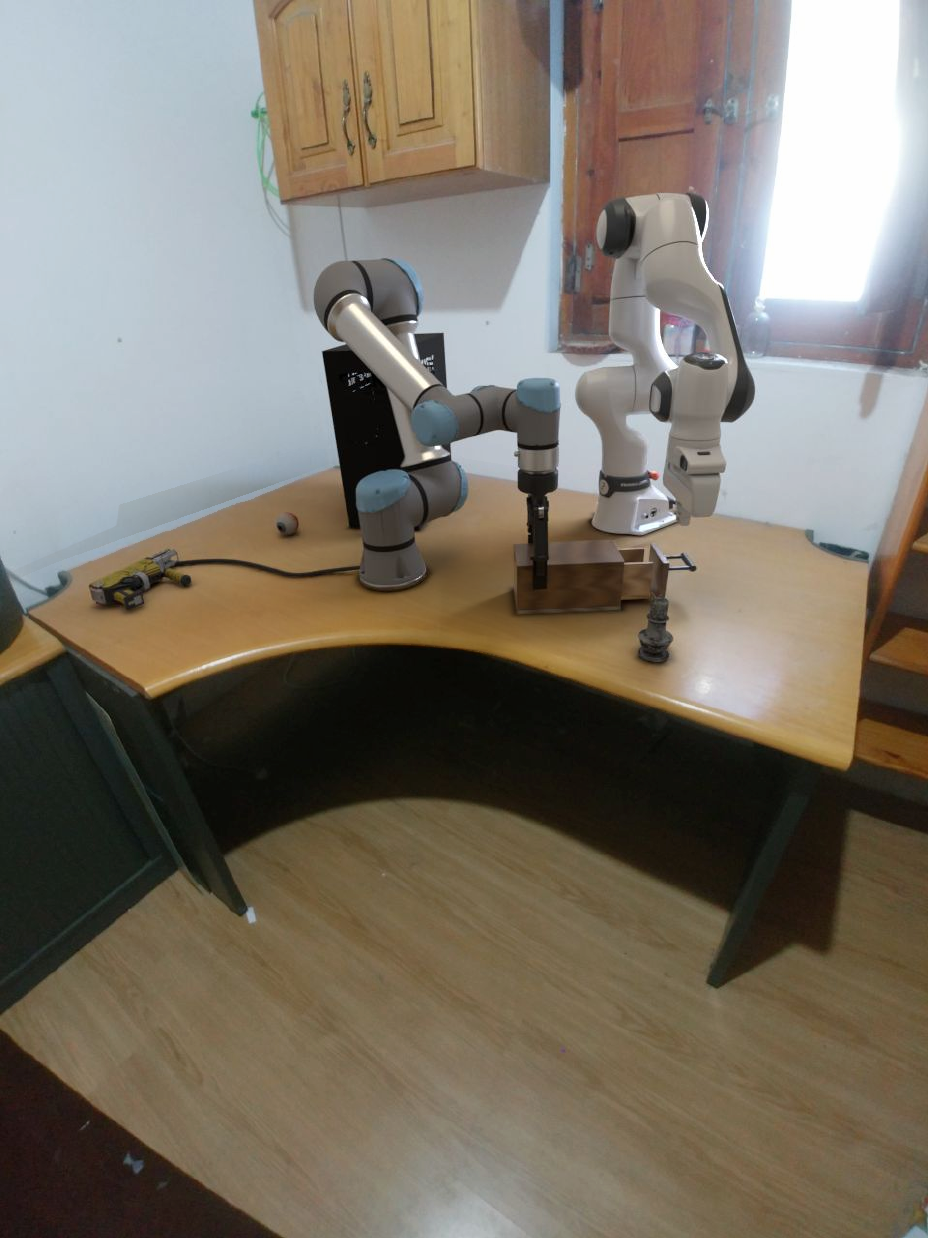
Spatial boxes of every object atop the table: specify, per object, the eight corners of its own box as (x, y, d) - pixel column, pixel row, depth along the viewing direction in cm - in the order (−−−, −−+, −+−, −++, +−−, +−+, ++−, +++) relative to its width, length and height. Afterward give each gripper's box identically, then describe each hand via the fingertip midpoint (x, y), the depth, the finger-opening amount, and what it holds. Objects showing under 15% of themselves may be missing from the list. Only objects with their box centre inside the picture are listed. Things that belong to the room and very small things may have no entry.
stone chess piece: (672, 664, 103) (681, 602, 97) (636, 661, 104) (643, 600, 98) (669, 645, 108) (677, 585, 102) (635, 643, 109) (641, 584, 103)
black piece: (419, 530, 162) (402, 348, 140) (349, 527, 167) (321, 351, 144) (453, 486, 194) (443, 332, 171) (393, 485, 198) (376, 334, 176)
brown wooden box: (609, 585, 130) (612, 539, 124) (620, 610, 120) (624, 561, 115) (513, 589, 130) (513, 543, 125) (517, 614, 121) (516, 566, 115)
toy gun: (215, 556, 146) (165, 546, 150) (137, 598, 126) (82, 584, 130) (218, 574, 148) (168, 563, 152) (142, 617, 128) (87, 603, 132)
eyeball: (273, 537, 164) (268, 516, 161) (287, 528, 169) (282, 508, 166) (291, 539, 161) (286, 518, 158) (305, 530, 166) (301, 510, 163)
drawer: (680, 579, 128) (685, 541, 124) (694, 600, 120) (701, 561, 115) (561, 584, 129) (562, 547, 125) (567, 606, 120) (569, 567, 116)
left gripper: (513, 452, 122) (514, 552, 133) (522, 489, 101) (522, 603, 112) (550, 451, 121) (548, 551, 132) (566, 487, 101) (563, 602, 112)
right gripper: (659, 438, 119) (651, 505, 126) (692, 467, 101) (681, 544, 108) (691, 436, 118) (682, 504, 125) (730, 465, 101) (717, 542, 108)
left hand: (536, 575), depth 122 cm, fingers closed on brown wooden box, 11 cm apart
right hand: (682, 523), depth 116 cm, fingers closed
